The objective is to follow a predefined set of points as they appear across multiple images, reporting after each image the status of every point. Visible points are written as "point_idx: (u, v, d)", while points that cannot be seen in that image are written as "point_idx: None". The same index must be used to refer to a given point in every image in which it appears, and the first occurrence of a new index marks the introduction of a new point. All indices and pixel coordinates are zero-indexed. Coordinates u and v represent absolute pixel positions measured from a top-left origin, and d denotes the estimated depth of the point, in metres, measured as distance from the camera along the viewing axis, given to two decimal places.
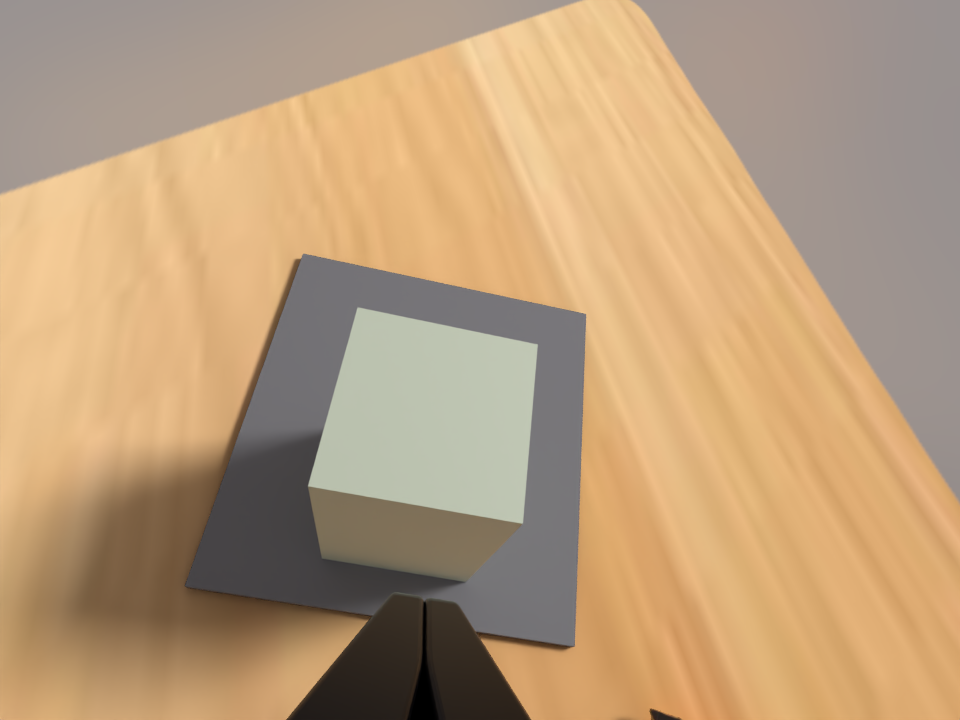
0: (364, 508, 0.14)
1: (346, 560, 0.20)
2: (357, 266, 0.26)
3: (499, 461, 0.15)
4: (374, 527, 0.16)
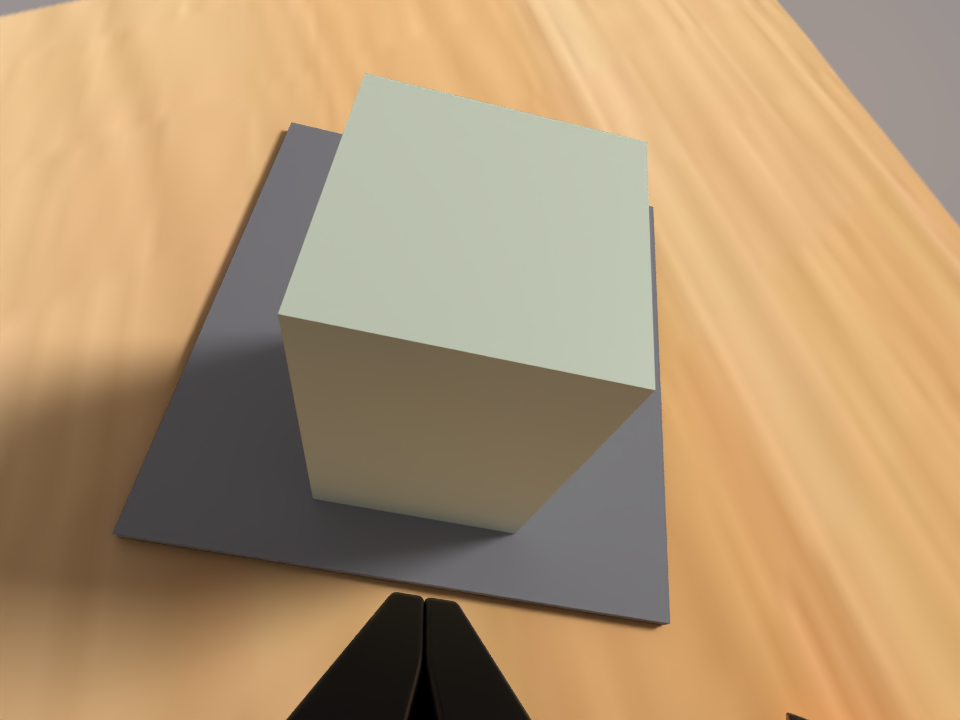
0: (377, 372, 0.08)
1: (347, 500, 0.14)
2: None
3: (605, 294, 0.09)
4: (392, 422, 0.10)
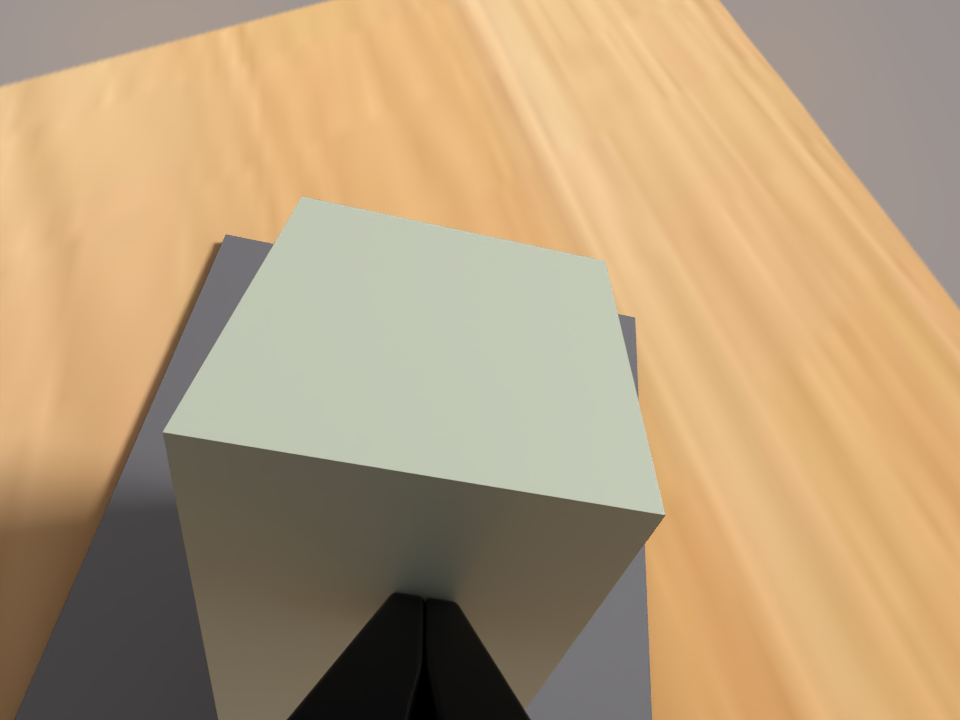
0: (300, 515, 0.06)
1: None
2: None
3: (585, 405, 0.07)
4: (322, 594, 0.07)
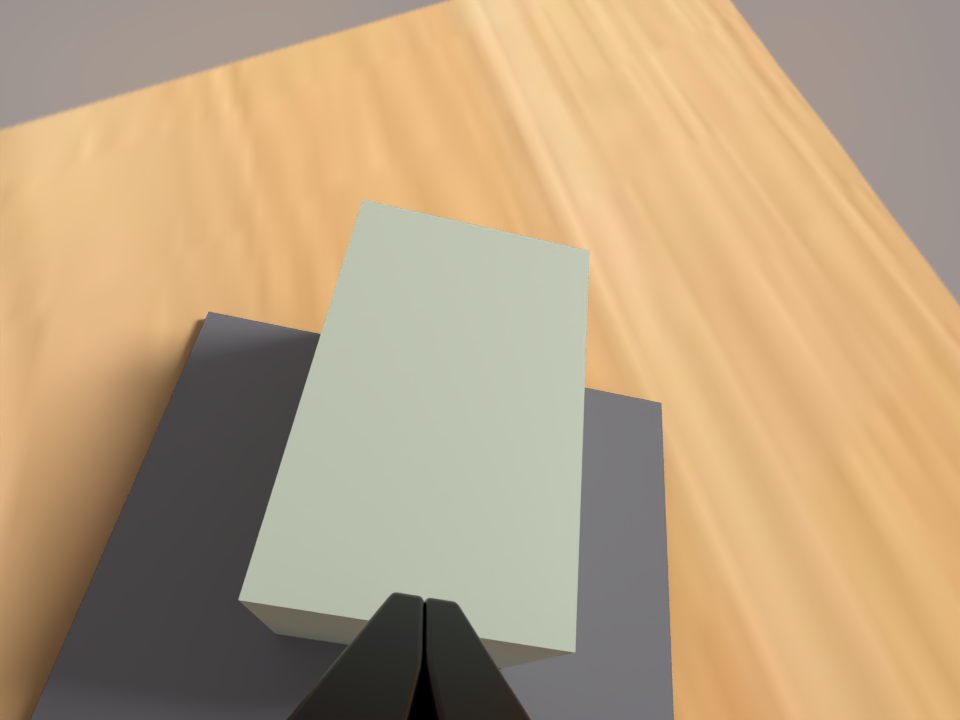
0: (415, 249, 0.12)
1: (305, 580, 0.09)
2: (297, 331, 0.16)
3: None
4: (415, 317, 0.11)
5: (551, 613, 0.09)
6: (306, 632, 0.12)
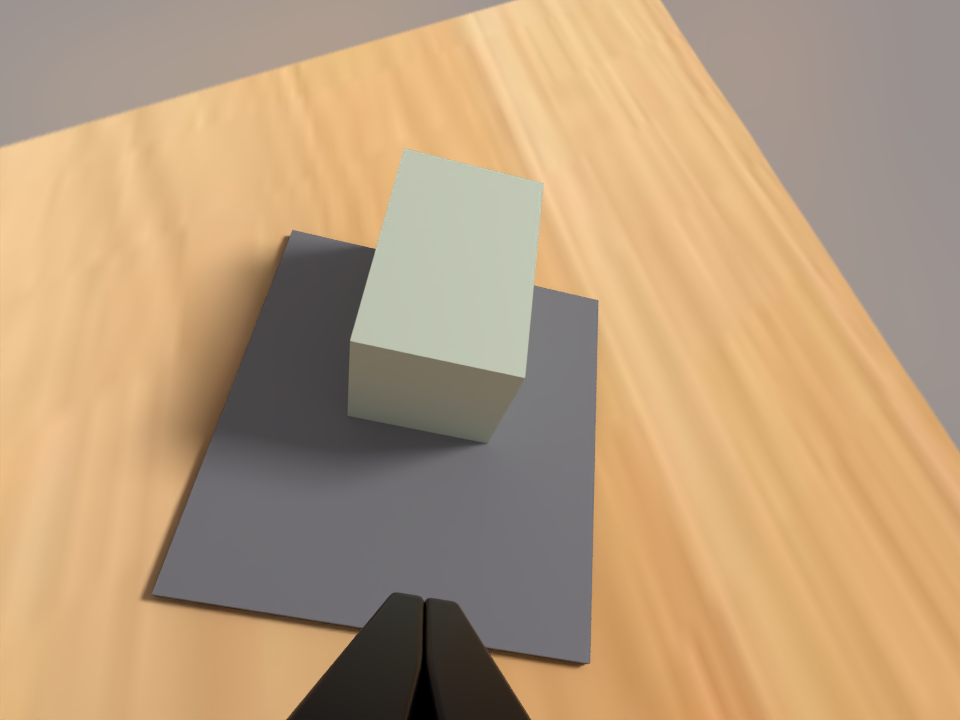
0: (436, 177, 0.20)
1: (383, 335, 0.17)
2: (351, 245, 0.24)
3: None
4: (437, 214, 0.19)
5: (513, 360, 0.17)
6: (370, 402, 0.20)
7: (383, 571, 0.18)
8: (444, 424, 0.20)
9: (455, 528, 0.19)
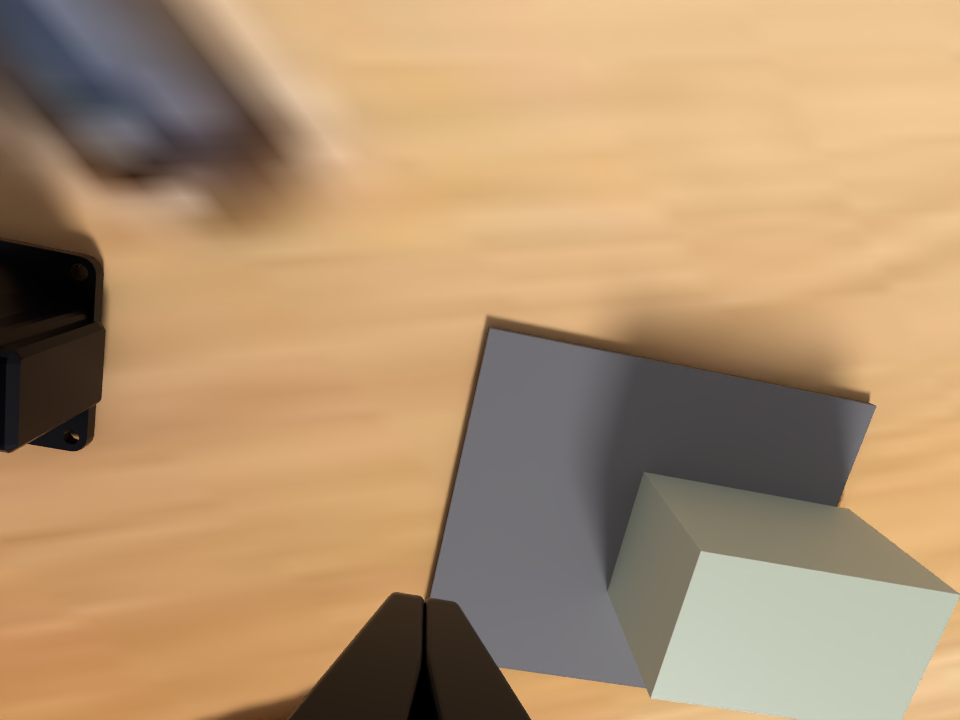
0: (911, 627, 0.17)
1: (705, 579, 0.17)
2: (850, 467, 0.22)
3: None
4: (856, 628, 0.17)
5: (670, 689, 0.18)
6: (651, 510, 0.20)
7: (497, 505, 0.21)
8: (625, 565, 0.21)
9: (530, 562, 0.22)
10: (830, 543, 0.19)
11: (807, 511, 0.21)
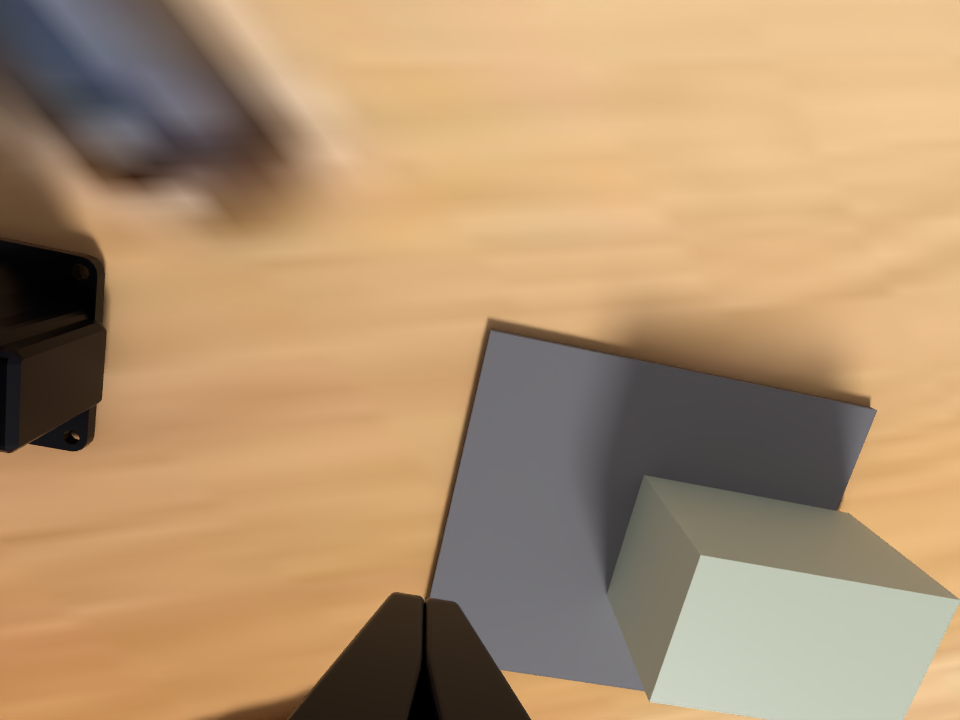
0: (911, 632, 0.17)
1: (704, 583, 0.17)
2: (850, 471, 0.22)
3: None
4: (856, 632, 0.17)
5: (669, 693, 0.18)
6: (651, 513, 0.20)
7: (497, 508, 0.21)
8: (625, 568, 0.21)
9: (529, 564, 0.22)
10: (830, 548, 0.19)
11: (807, 515, 0.21)
